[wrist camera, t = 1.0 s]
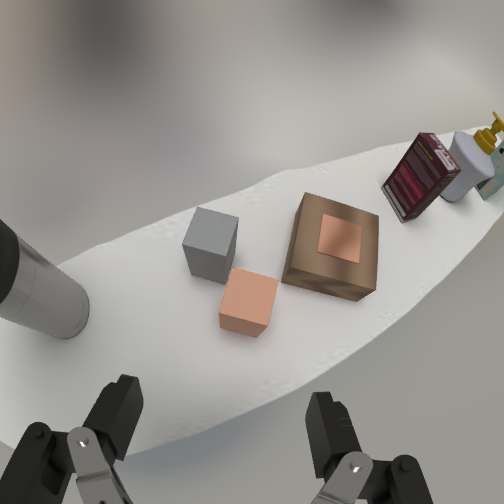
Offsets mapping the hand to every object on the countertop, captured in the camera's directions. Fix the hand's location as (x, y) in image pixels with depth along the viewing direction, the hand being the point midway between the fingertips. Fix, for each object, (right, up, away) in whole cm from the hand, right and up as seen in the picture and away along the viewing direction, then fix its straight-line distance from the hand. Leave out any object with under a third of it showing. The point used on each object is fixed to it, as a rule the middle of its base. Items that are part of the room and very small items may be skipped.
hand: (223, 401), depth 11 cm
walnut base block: (+13, +6, +31) cm, 34 cm away
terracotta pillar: (0, -2, +26) cm, 26 cm away
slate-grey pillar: (-4, +5, +28) cm, 29 cm away
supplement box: (+30, +16, +37) cm, 51 cm away
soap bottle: (+47, +22, +42) cm, 67 cm away
